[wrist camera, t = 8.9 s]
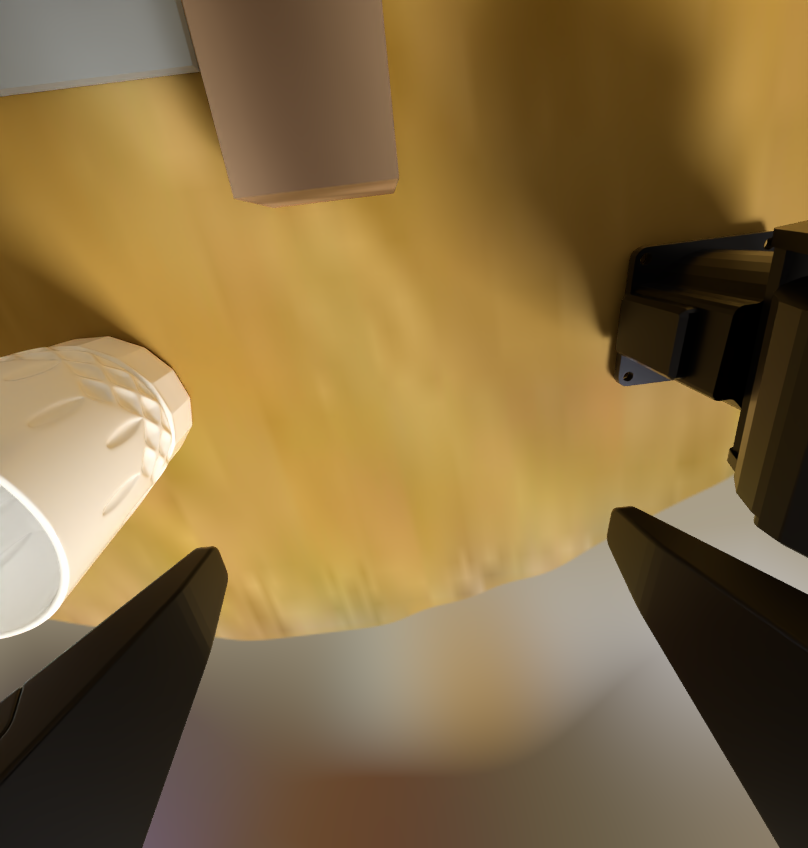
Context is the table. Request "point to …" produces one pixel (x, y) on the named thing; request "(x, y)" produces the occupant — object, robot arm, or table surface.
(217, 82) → the letter cube
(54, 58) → the grey mat
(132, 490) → the white cup
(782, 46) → the table surface
